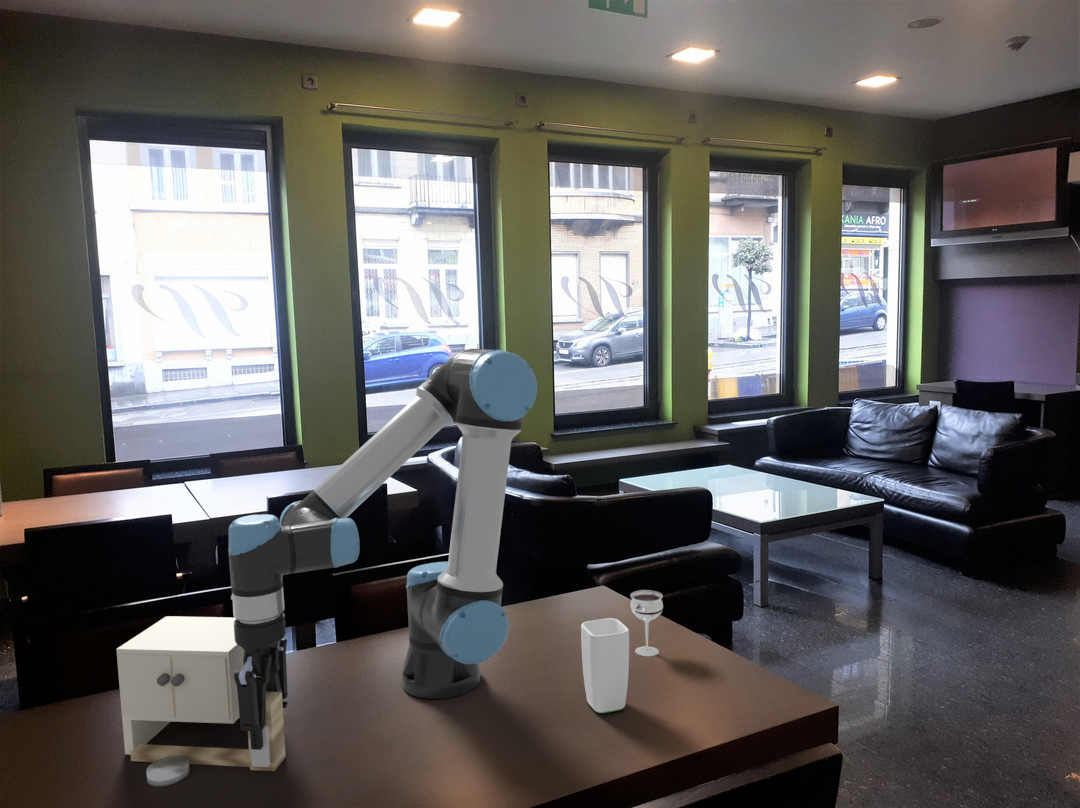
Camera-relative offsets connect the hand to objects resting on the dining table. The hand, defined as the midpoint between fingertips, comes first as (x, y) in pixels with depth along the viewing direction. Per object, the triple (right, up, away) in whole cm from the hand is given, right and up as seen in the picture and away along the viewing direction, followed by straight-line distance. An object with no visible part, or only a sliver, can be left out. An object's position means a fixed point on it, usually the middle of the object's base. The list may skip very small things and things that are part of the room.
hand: (268, 756), depth 125 cm
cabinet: (-15, 0, +10) cm, 17 cm away
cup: (+55, +2, +16) cm, 57 cm away
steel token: (-15, -2, -2) cm, 15 cm away
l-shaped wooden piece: (-10, -1, +1) cm, 10 cm away
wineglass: (+66, +4, +39) cm, 76 cm away
